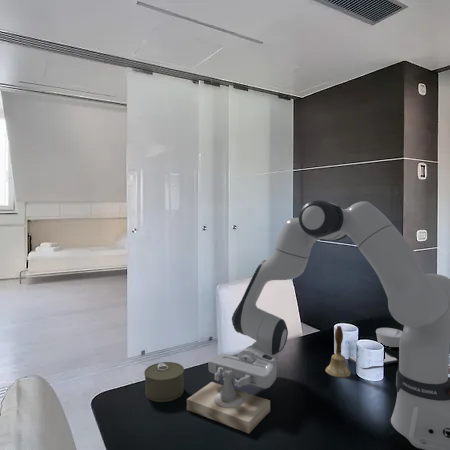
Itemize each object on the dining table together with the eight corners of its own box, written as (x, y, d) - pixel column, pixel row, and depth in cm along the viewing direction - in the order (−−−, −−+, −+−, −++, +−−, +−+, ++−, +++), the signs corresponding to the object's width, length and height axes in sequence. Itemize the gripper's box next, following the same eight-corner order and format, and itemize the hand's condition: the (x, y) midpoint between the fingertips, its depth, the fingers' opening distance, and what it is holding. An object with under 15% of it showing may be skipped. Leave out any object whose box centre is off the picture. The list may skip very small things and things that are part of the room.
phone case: (362, 371, 127) (400, 364, 131) (362, 366, 127) (400, 360, 131) (347, 360, 135) (383, 354, 140) (346, 356, 135) (383, 350, 140)
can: (148, 406, 105) (148, 382, 104) (141, 386, 116) (141, 365, 115) (189, 397, 109) (188, 375, 109) (178, 379, 120) (178, 359, 120)
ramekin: (411, 350, 143) (411, 337, 143) (382, 350, 143) (382, 337, 143) (398, 339, 154) (398, 327, 154) (371, 339, 155) (371, 327, 154)
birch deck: (270, 411, 101) (270, 399, 101) (248, 433, 91) (248, 421, 91) (211, 391, 112) (211, 380, 112) (186, 409, 102) (186, 398, 102)
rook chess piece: (231, 404, 99) (230, 375, 98) (217, 400, 101) (217, 371, 101) (239, 397, 103) (239, 369, 102) (225, 392, 105) (225, 365, 105)
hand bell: (354, 371, 125) (355, 325, 125) (345, 380, 119) (345, 332, 118) (331, 364, 131) (332, 320, 130) (321, 372, 124) (321, 326, 124)
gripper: (222, 345, 118) (196, 361, 106) (280, 360, 107) (258, 379, 95) (222, 364, 118) (196, 382, 107) (280, 381, 107) (258, 402, 95)
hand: (226, 381), depth 101 cm, fingers open, 5 cm apart
